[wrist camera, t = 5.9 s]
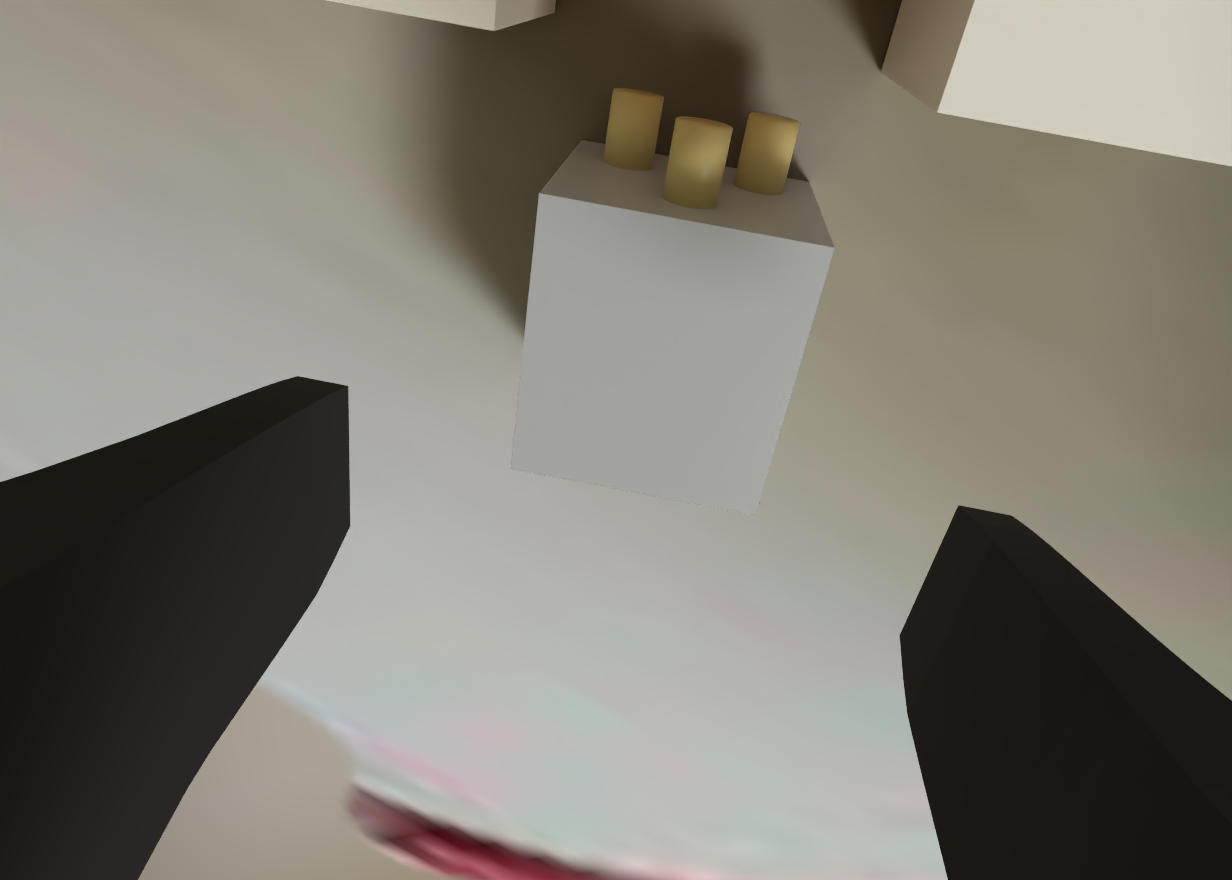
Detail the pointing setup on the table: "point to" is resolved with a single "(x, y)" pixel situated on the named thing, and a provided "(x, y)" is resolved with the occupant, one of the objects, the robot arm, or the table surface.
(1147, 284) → the table surface
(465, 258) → the table surface
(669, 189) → the plug
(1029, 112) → the socket housing
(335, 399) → the robot arm
